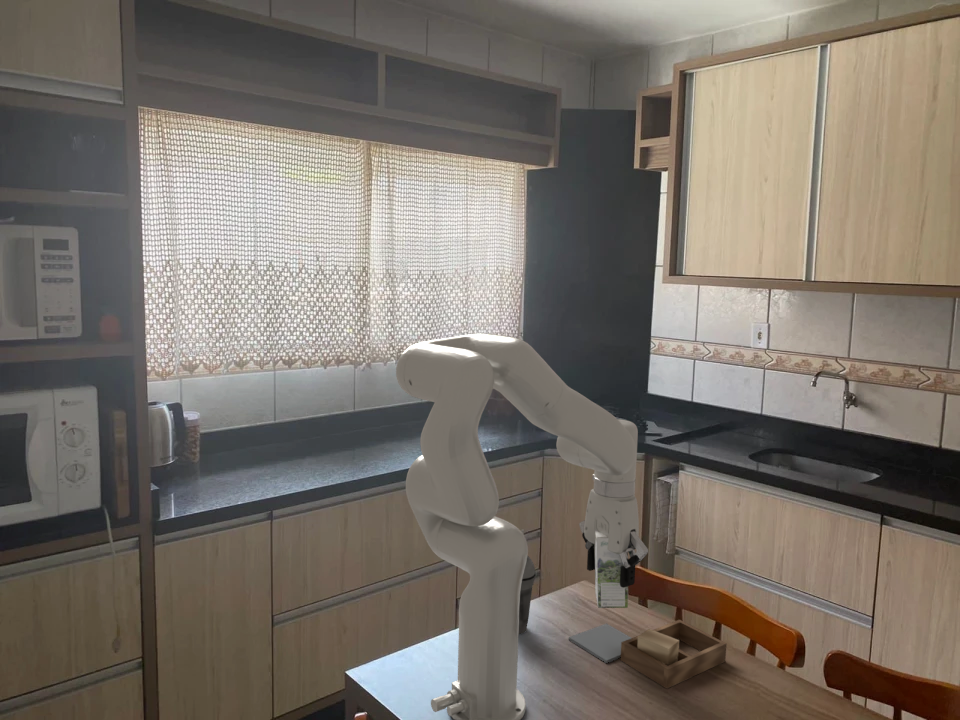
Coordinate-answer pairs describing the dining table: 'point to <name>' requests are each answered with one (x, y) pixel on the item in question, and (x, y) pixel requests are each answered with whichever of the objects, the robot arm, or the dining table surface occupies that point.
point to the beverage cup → (526, 594)
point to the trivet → (601, 642)
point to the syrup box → (608, 576)
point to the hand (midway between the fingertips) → (610, 576)
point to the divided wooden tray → (687, 664)
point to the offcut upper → (658, 646)
